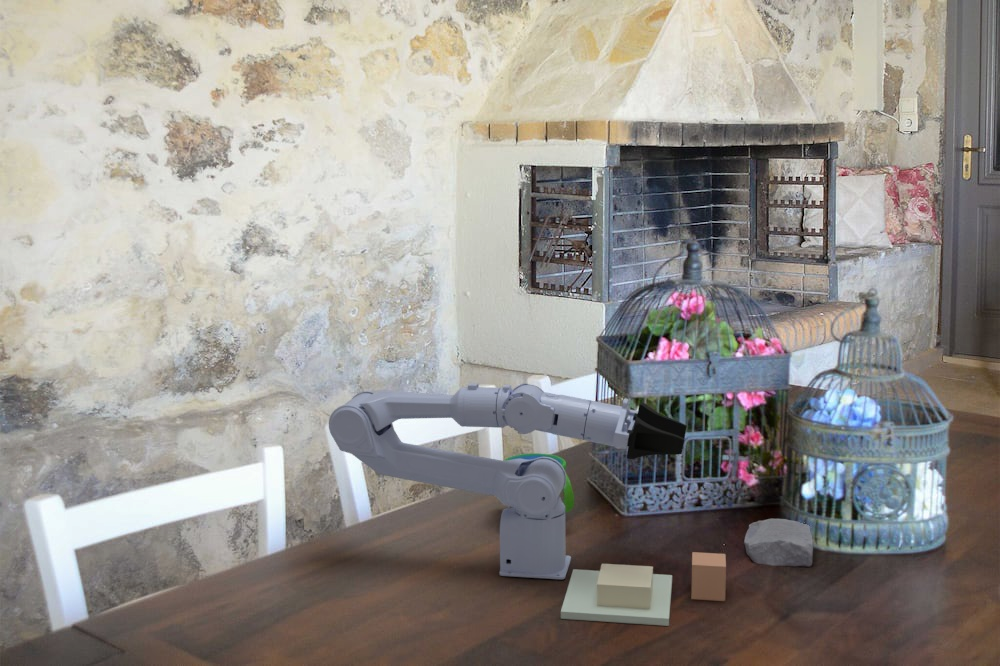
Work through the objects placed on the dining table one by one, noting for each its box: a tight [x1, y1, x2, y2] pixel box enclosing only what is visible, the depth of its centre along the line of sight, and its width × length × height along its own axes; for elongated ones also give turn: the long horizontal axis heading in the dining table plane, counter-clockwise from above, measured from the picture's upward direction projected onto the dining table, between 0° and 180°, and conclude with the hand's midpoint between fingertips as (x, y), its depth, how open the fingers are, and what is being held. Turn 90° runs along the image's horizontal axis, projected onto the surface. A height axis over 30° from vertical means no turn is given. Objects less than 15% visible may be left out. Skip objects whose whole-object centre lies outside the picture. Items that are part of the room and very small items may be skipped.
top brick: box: [690, 551, 727, 602], centre depth 149 cm, size 4×4×5 cm
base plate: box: [560, 563, 673, 627], centre depth 147 cm, size 14×14×4 cm
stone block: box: [743, 518, 814, 568], centre depth 164 cm, size 12×5×10 cm
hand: (684, 439), depth 150 cm, fingers open, 7 cm apart
